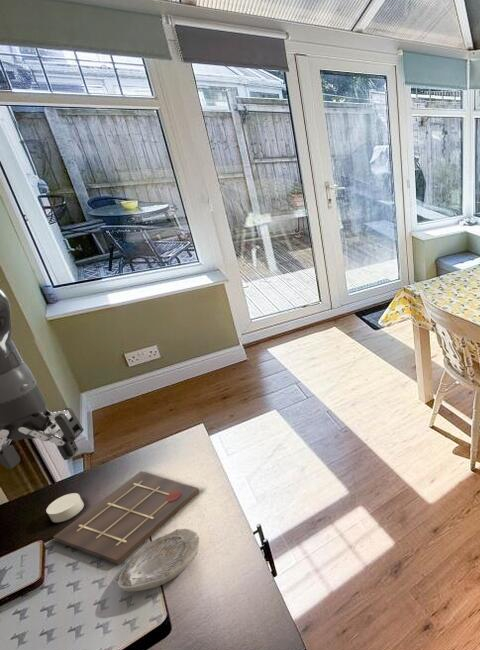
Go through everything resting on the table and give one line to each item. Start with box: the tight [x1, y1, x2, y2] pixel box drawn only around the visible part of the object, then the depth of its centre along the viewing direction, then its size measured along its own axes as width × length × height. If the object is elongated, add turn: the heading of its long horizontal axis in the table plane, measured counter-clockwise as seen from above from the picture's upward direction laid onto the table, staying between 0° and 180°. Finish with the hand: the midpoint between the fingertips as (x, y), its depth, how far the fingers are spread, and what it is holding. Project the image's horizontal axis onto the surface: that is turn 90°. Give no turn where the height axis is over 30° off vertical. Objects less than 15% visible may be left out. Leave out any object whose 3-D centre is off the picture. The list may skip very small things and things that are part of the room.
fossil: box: [117, 528, 200, 592], centre depth 74 cm, size 10×12×3 cm
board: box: [53, 470, 200, 565], centre depth 83 cm, size 16×16×1 cm
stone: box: [45, 492, 85, 523], centre depth 83 cm, size 5×5×2 cm
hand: (42, 460), depth 77 cm, fingers open, 8 cm apart
